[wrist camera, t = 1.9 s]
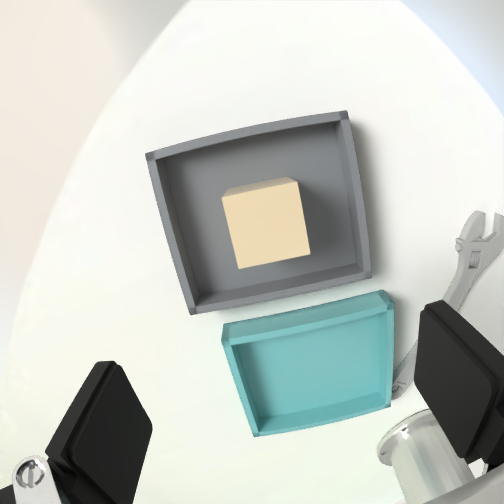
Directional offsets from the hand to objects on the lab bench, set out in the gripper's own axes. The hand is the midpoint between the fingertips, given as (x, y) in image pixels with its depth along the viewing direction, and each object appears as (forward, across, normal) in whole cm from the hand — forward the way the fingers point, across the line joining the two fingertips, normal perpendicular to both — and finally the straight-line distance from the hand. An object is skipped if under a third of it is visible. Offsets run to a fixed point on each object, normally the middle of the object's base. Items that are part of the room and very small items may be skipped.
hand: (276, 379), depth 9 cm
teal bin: (+20, -3, +16) cm, 25 cm away
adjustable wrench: (+20, -18, +12) cm, 30 cm away
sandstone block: (+19, -1, -1) cm, 19 cm away
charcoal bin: (+20, -1, -1) cm, 20 cm away
